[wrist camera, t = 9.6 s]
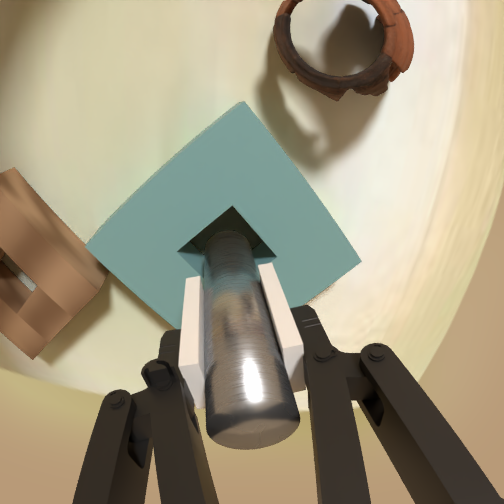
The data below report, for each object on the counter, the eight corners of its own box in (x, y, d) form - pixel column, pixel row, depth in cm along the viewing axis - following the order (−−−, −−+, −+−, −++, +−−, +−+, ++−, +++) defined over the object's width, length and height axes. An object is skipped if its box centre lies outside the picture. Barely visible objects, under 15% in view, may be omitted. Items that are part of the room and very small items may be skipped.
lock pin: (194, 250, 22) (186, 426, 9) (230, 221, 21) (263, 385, 9) (225, 280, 23) (246, 457, 11) (260, 254, 23) (316, 422, 10)
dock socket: (99, 228, 23) (84, 246, 20) (238, 102, 21) (244, 101, 17) (216, 335, 29) (218, 362, 26) (344, 242, 26) (361, 261, 23)
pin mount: (-36, 256, 22) (-55, 273, 19) (14, 167, 20) (-9, 178, 17) (44, 337, 27) (32, 360, 24) (110, 268, 25) (98, 291, 22)
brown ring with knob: (386, 115, 23) (385, 129, 16) (280, 71, 24) (238, 71, 18) (433, -7, 15) (449, -39, 9) (321, -46, 17) (293, -87, 10)
